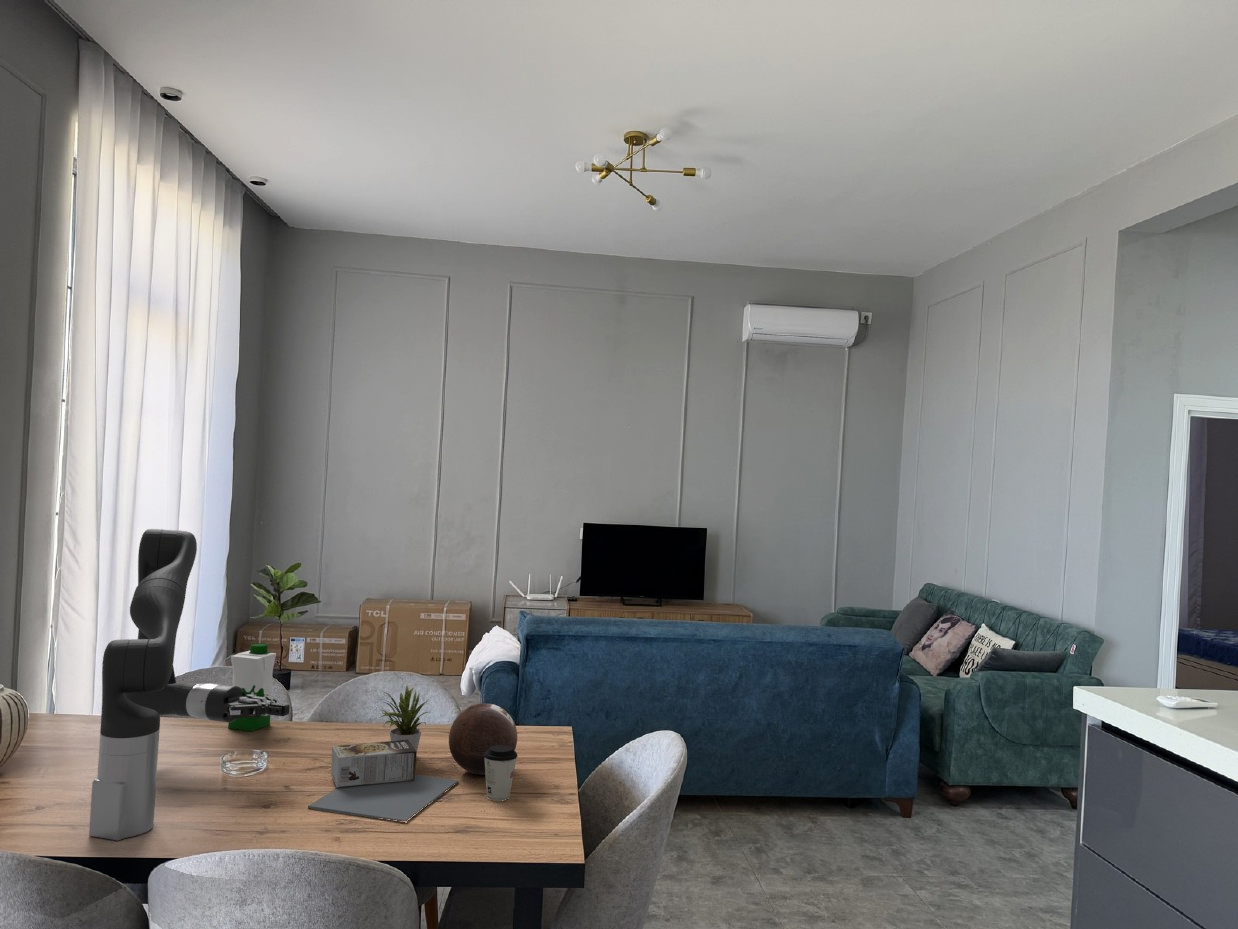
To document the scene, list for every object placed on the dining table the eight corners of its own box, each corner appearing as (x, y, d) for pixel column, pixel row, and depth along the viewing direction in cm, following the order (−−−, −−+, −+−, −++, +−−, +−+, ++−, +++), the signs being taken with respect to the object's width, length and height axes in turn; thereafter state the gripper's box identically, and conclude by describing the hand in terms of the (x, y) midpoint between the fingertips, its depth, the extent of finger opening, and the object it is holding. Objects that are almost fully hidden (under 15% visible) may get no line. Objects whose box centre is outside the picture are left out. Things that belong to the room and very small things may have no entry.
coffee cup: (483, 804, 177) (485, 754, 177) (479, 792, 183) (481, 743, 184) (517, 803, 179) (520, 753, 179) (512, 790, 185) (515, 742, 186)
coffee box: (331, 744, 188) (407, 738, 195) (330, 775, 188) (406, 768, 195) (338, 756, 180) (417, 750, 187) (336, 789, 179) (416, 780, 186)
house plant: (366, 749, 208) (371, 679, 208) (426, 746, 213) (430, 677, 213) (372, 768, 194) (376, 694, 195) (436, 764, 199) (440, 692, 200)
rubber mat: (405, 823, 165) (405, 820, 165) (307, 808, 170) (308, 805, 170) (458, 782, 188) (458, 780, 188) (370, 770, 193) (370, 768, 193)
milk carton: (275, 724, 224) (280, 644, 225) (252, 733, 215) (257, 651, 216) (245, 720, 226) (250, 641, 227) (221, 729, 217) (226, 647, 218)
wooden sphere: (520, 782, 191) (524, 712, 191) (450, 785, 186) (454, 714, 187) (509, 760, 205) (513, 695, 205) (443, 763, 201) (447, 696, 201)
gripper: (195, 690, 182) (269, 699, 178) (236, 678, 195) (306, 686, 191) (192, 727, 182) (266, 736, 178) (234, 713, 195) (304, 721, 191)
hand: (287, 710), depth 185 cm, fingers closed
